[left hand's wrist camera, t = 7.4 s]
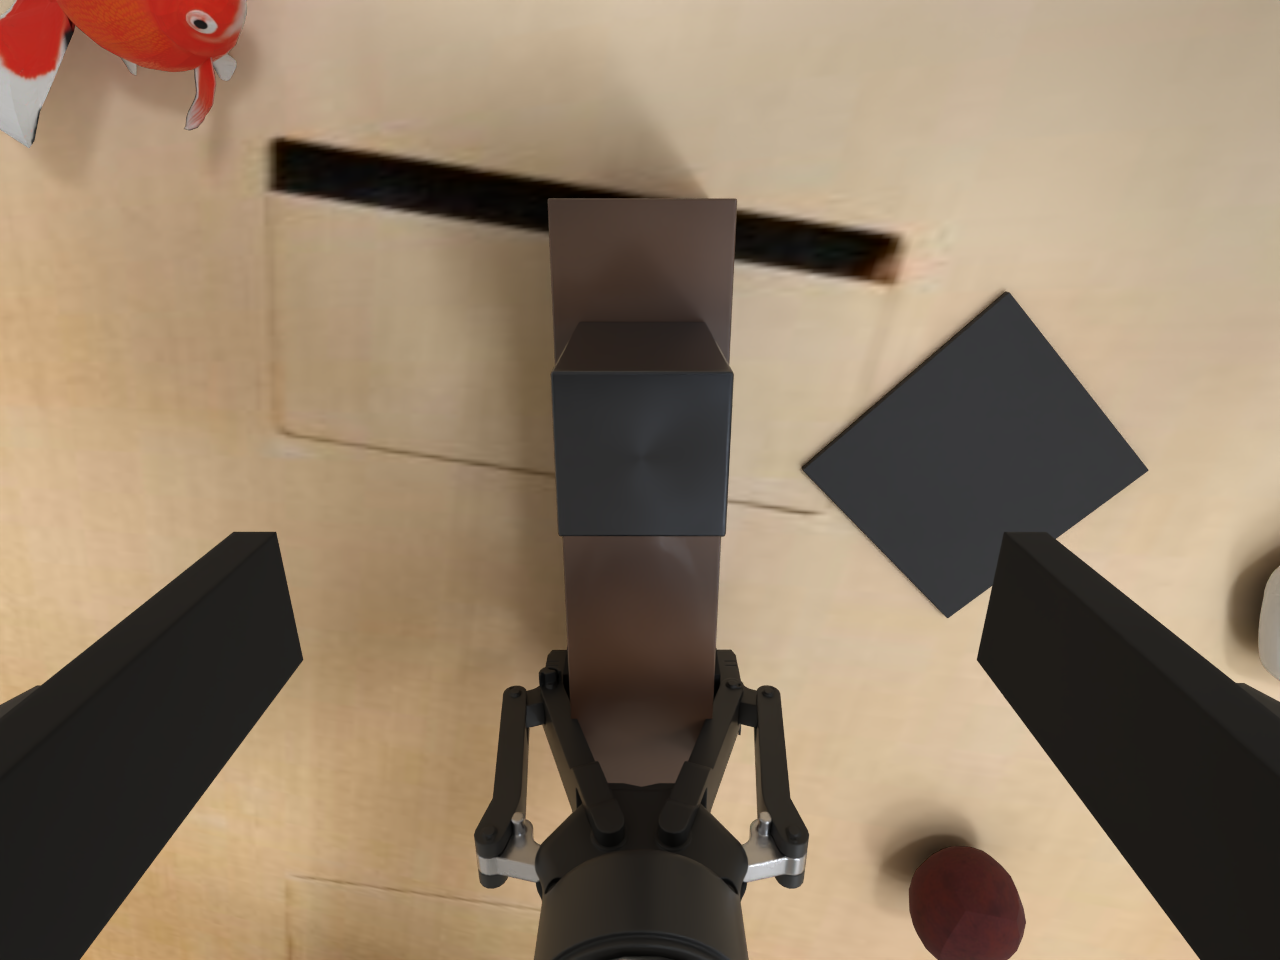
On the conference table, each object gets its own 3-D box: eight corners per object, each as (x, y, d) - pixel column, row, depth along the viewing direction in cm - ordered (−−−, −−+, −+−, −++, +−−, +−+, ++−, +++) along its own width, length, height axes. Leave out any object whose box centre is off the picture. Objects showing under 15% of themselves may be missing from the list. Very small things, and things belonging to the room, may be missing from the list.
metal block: (578, 321, 27) (550, 371, 19) (706, 321, 27) (734, 371, 19) (582, 442, 29) (557, 537, 21) (701, 442, 29) (726, 537, 21)
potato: (881, 891, 52) (915, 989, 46) (915, 815, 50) (957, 908, 43) (973, 905, 53) (1020, 1004, 46) (1013, 830, 50) (1069, 925, 44)
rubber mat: (1005, 291, 36) (1009, 292, 36) (1144, 468, 40) (1149, 470, 40) (801, 467, 40) (802, 470, 40) (945, 615, 44) (947, 618, 43)
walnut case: (572, 201, 35) (547, 198, 26) (712, 201, 35) (737, 198, 26) (588, 690, 46) (575, 813, 37) (694, 690, 46) (708, 813, 37)
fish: (267, 241, 31) (3, 108, 22) (55, 173, 36) (-233, 41, 27) (349, 12, 31) (117, -225, 21) (123, -24, 36) (-144, -228, 26)
